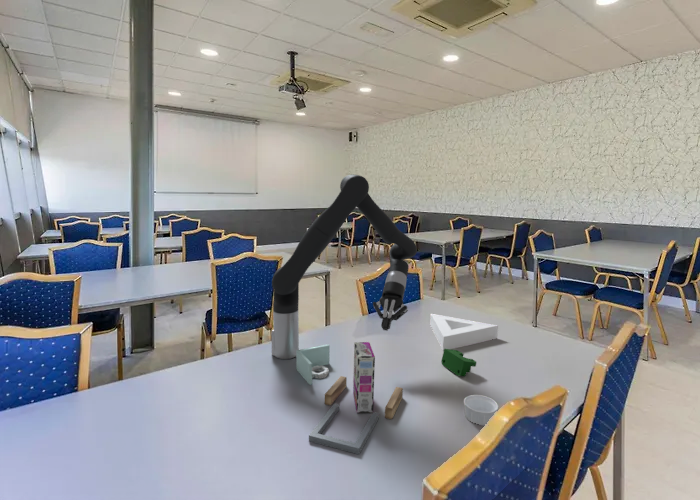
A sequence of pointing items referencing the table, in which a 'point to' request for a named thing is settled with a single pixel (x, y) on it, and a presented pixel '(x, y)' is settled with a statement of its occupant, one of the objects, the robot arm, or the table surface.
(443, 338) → the triangle block
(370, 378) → the candy bar box
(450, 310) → the table surface
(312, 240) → the robot arm
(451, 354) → the clamp
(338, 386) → the oak rails
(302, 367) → the right angle wall
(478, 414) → the ramekin
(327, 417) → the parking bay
